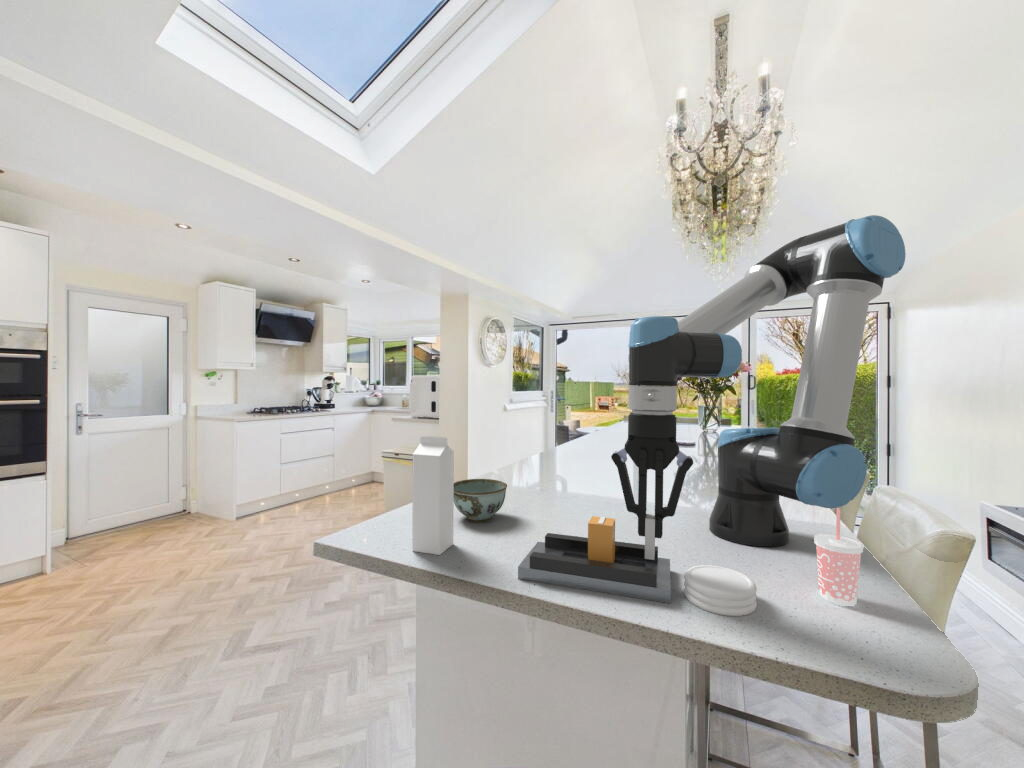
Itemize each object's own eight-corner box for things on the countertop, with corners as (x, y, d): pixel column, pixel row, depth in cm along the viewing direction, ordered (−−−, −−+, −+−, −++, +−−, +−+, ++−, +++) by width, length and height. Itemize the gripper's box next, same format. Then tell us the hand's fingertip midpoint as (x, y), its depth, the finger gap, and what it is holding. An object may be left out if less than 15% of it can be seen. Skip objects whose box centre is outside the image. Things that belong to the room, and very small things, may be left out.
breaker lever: (614, 558, 76) (615, 517, 76) (612, 568, 72) (612, 525, 72) (591, 555, 77) (591, 515, 77) (587, 564, 73) (588, 522, 73)
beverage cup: (808, 586, 71) (809, 500, 71) (855, 594, 68) (856, 504, 68) (818, 604, 65) (819, 511, 65) (869, 613, 63) (870, 516, 63)
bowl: (483, 506, 115) (483, 476, 115) (518, 518, 105) (518, 485, 105) (439, 517, 105) (439, 484, 105) (473, 532, 96) (473, 495, 95)
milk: (427, 541, 90) (427, 434, 90) (454, 544, 88) (454, 435, 88) (411, 551, 85) (411, 437, 85) (439, 555, 83) (440, 438, 83)
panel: (669, 570, 77) (670, 547, 77) (670, 603, 65) (670, 576, 65) (537, 551, 85) (537, 531, 85) (517, 578, 73) (518, 554, 73)
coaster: (765, 600, 67) (765, 578, 67) (743, 626, 60) (743, 601, 60) (699, 579, 74) (699, 558, 74) (672, 600, 67) (672, 577, 67)
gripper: (608, 412, 70) (606, 559, 71) (696, 415, 66) (694, 571, 66) (614, 409, 77) (612, 542, 78) (693, 412, 73) (691, 553, 73)
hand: (649, 556), depth 72 cm, fingers closed
